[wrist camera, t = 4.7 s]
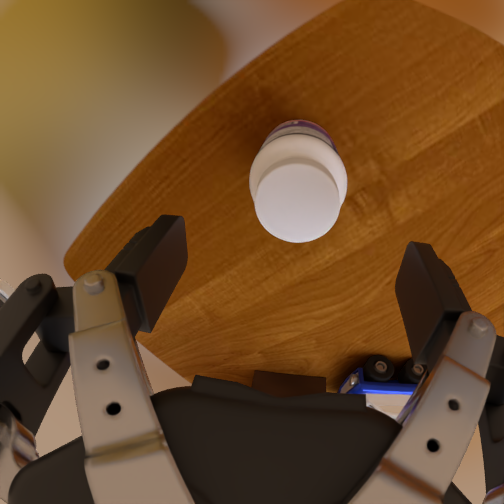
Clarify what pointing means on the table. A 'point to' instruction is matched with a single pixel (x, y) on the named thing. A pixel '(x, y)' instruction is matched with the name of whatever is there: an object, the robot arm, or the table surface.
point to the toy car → (384, 384)
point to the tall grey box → (287, 384)
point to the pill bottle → (298, 182)
